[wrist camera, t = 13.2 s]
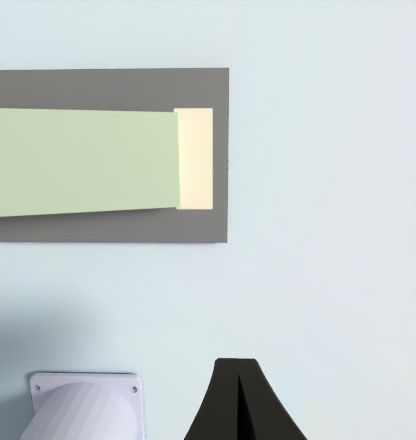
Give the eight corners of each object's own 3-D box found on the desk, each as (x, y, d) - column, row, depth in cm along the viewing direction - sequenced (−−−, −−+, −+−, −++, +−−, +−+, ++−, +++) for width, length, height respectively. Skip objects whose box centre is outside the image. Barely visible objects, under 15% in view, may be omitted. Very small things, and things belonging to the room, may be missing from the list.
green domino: (177, 112, 16) (-48, 106, 14) (180, 206, 17) (-28, 218, 15) (172, 115, 18) (-32, 111, 15) (175, 202, 19) (-14, 211, 16)
